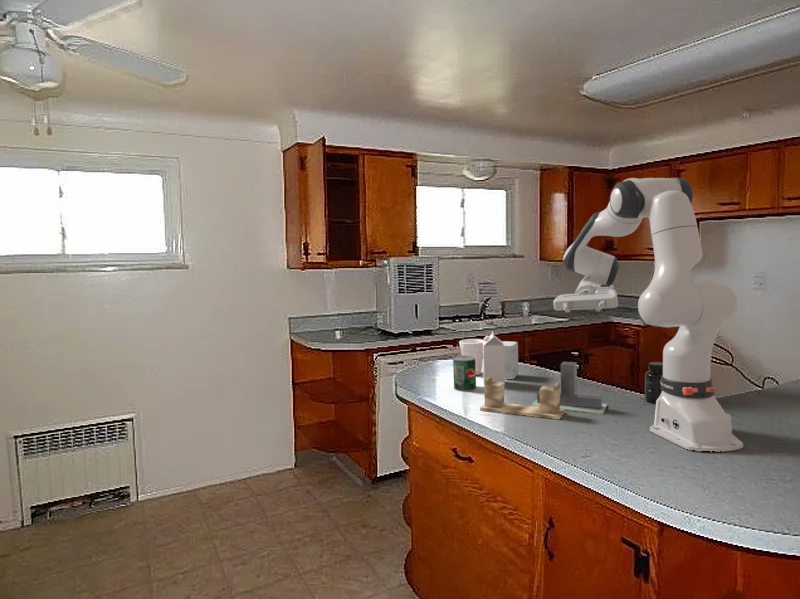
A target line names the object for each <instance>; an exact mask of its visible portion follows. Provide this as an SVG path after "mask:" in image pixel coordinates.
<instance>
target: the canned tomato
mask: <svg viewBox="0 0 800 599" xmlns="http://www.w3.org/2000/svg"><path fill="white" fill-rule="evenodd" d="M452 364H453V366H452V368H453V389H454V390H455V391H459V392H470V391H474V390H476V389H477V375H476V367H475V357H474V356H467V355H463V356H462V355H456V356H453V357H452Z"/></svg>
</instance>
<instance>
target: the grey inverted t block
mask: <svg viewBox="0 0 800 599" xmlns="http://www.w3.org/2000/svg"><path fill="white" fill-rule="evenodd" d="M577 364H578V362H576V361H575V362H574V361H562V362H561V363H560V405H563V406H573V407H583V408H592V409H601V408H602V404H603V396H599V395H587V394H586V395H585V394H578V376H577V375H578V371H577V370H578V365H577ZM536 400H537V403H540V390H538V392H537V393H536Z"/></svg>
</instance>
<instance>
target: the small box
mask: <svg viewBox="0 0 800 599" xmlns="http://www.w3.org/2000/svg"><path fill="white" fill-rule="evenodd" d="M501 341H502V340H501ZM502 342H503V344H504V369H505V378H506V379H513V380H514V378H515V377H516V376H517V375H518V374H519V344H518V343H519V342H518V341H509V340H505V341H502ZM518 376H519V375H518ZM518 376H517V377H518ZM517 377H516V378H517Z"/></svg>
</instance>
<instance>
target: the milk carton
mask: <svg viewBox="0 0 800 599" xmlns="http://www.w3.org/2000/svg"><path fill="white" fill-rule="evenodd" d="M483 340H484V341H483V360H482V368H483V380H484V379H486V378H487V377H492V382H504V387H505V386H506V383H505V382H506V380H505V369H504V344H503V342H502V340H501V339H500V338H499V337H498V336H496V335H494V332H493V330H491V334H490V335H485V337H484V338H483Z"/></svg>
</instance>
